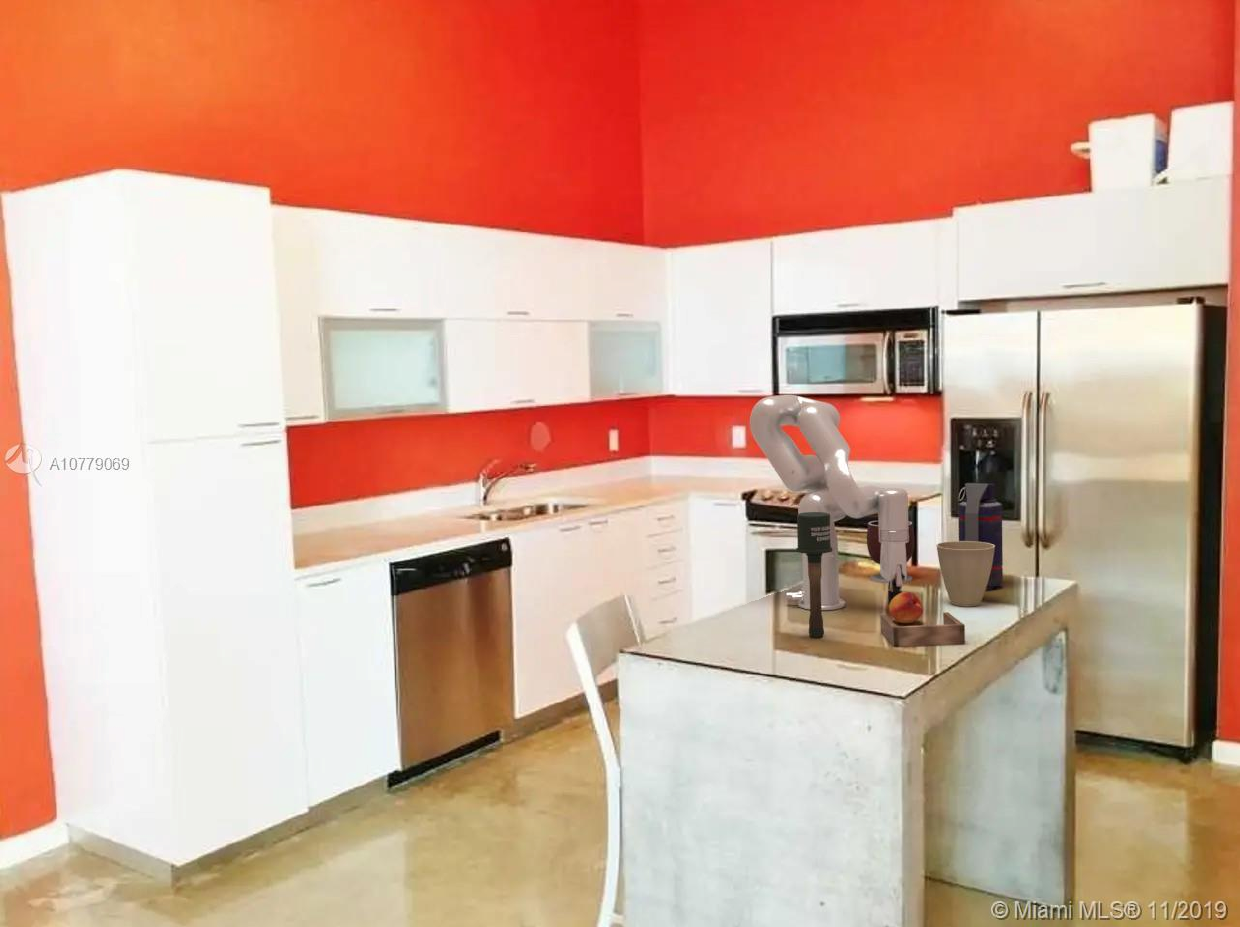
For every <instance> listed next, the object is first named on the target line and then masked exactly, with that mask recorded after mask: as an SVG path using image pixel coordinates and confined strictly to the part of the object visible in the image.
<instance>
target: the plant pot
mask: <svg viewBox="0 0 1240 927" xmlns="http://www.w3.org/2000/svg"><path fill="white" fill-rule="evenodd" d="M994 549H995V545H993V544H990V543H985V542H975V541H959V540H953V541H943V542H939V543H936V551H937V557H938V563H939V568H940V573H941V577H942V579H943V583H944V587H945V590H946V592H947V596H948V598H949V601H950V603H951V604H952V605H954V606H957V607H978V606H980V605H981V602H982V600H983V598H984V595H985V592H986V591H987V590H986V587H987V583H988V580H989V576H990V572H991V567H992V562H993V556H994Z"/></svg>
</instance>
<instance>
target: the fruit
mask: <svg viewBox="0 0 1240 927" xmlns="http://www.w3.org/2000/svg"><path fill="white" fill-rule="evenodd" d="M888 613H889V615H890V616H891V617H892V618H893V619H894V622H896V623H900V624H911V623H914V622H916V621H919V619H920V618H921V616H922V615H923V613H924V606H923V603H922V601H921V599H920V598H919V597H918V596H917V594H915V593H913V592H911V591H902V593H900V594H898V595H896V596H895V597H894V598H893V599H892V600H891V602H890V604H888Z"/></svg>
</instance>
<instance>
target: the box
mask: <svg viewBox="0 0 1240 927" xmlns="http://www.w3.org/2000/svg"><path fill="white" fill-rule="evenodd" d="M942 617H943V620H942V621H943V622H942V623H943V624H929V625H928V624H926V625H925V624H924V625H923V624H921V625H904V626H903V625H900V626H898V625H897V624H896V623H895V622H894V621H892V620H891V618H889V617H888V616H887V615H886V614H880V617H879V618H880V634H881V635H882V636H883V637H884V638H885V639H886V640H887V641H888V642H889V643H890V645H891V646H892V647H894V648H900V647H904V648H905V647H926V646H927V647H928V646H930V647H931V646H955V645H957V646H958V645H966V632H965V630H966V628H965V627H966V626H965V624H964V623H962V621H960V619H957V618H956V617H955V616H954V615H953V614H951V613H950V612H948V611H947V612H942Z"/></svg>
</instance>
